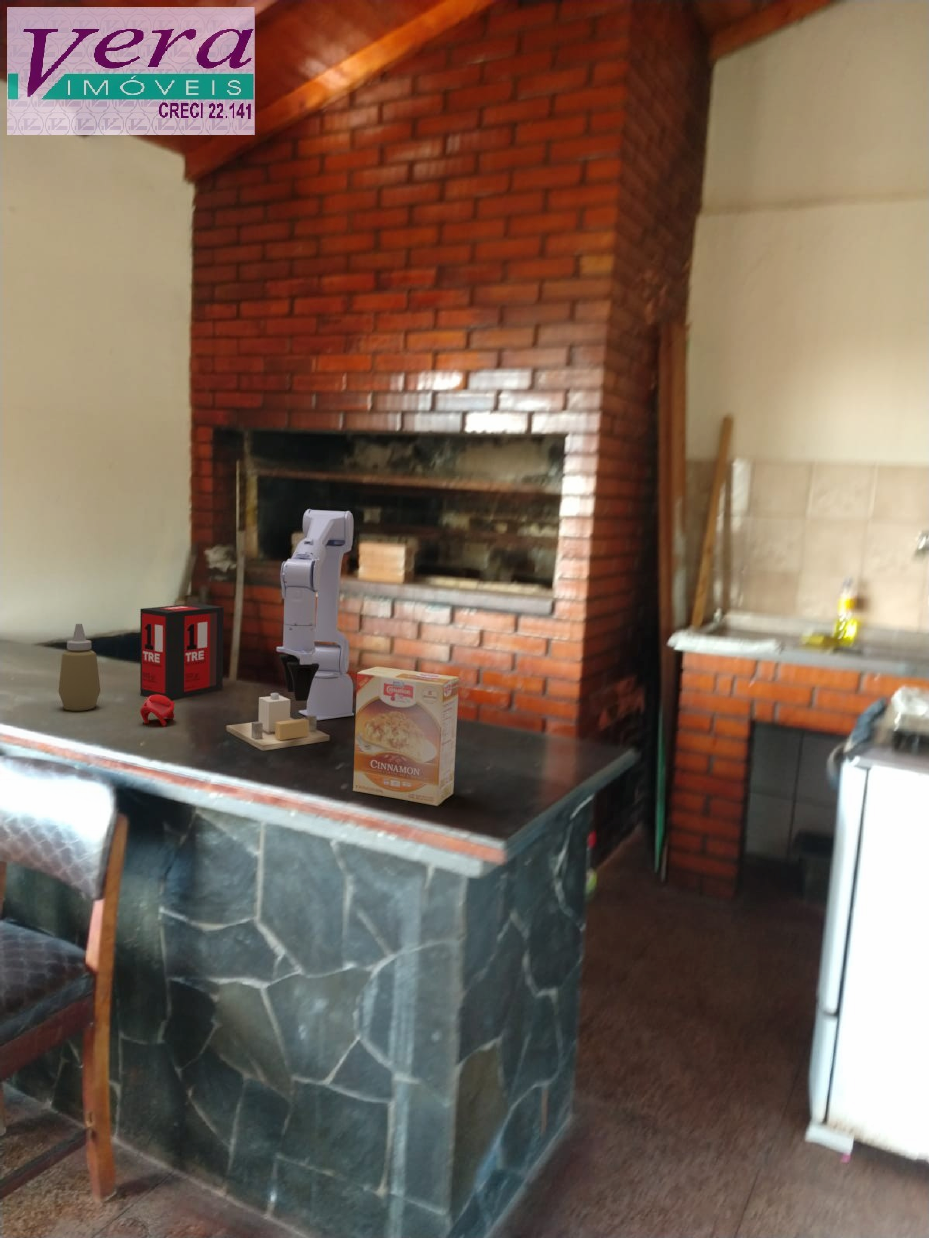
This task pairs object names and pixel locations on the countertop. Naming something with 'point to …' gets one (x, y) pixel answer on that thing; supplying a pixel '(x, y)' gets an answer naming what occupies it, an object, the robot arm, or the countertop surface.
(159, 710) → the red toy chair
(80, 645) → the squeeze bottle
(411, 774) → the coffeecake box
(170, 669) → the cleaning product box
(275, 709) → the block
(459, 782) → the countertop surface
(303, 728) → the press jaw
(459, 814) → the countertop surface
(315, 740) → the press bed
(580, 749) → the countertop surface
